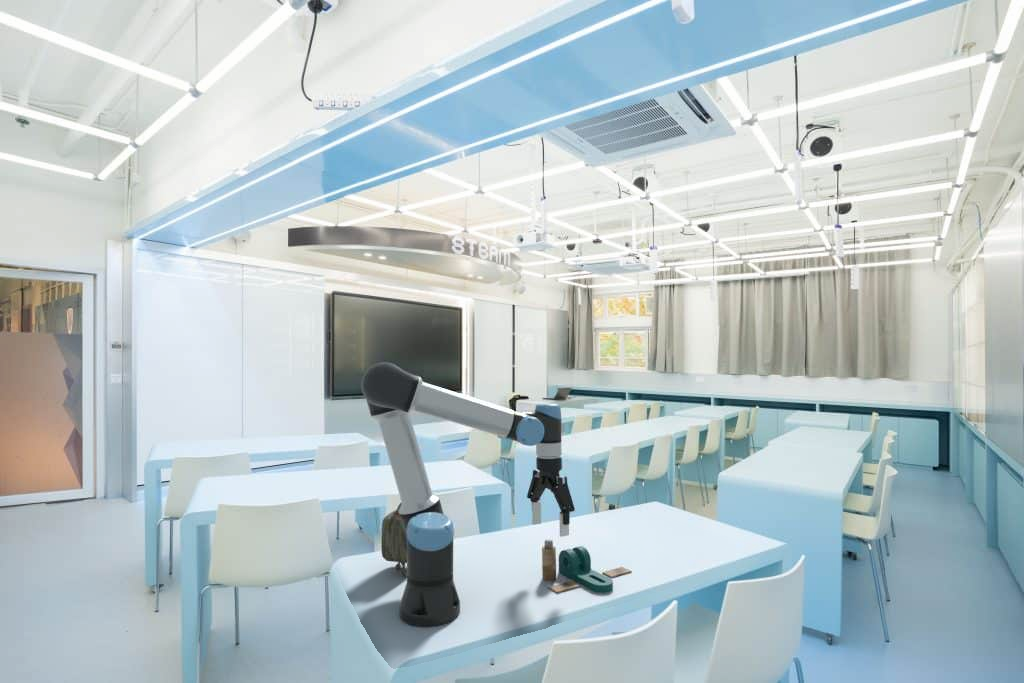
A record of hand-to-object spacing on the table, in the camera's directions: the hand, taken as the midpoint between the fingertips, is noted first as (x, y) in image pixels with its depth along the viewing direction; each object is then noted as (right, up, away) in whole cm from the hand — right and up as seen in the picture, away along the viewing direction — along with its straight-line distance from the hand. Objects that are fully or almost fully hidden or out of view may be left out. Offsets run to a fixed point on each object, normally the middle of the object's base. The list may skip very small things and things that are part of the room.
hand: (550, 529), depth 158 cm
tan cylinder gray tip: (0, -14, -1) cm, 14 cm away
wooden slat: (+12, -14, -1) cm, 19 cm away
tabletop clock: (-44, -15, +7) cm, 47 cm away
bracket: (+11, -15, -2) cm, 18 cm away
